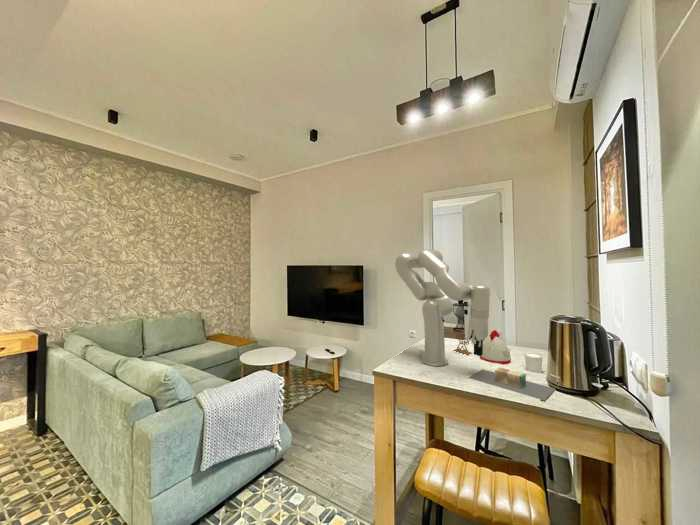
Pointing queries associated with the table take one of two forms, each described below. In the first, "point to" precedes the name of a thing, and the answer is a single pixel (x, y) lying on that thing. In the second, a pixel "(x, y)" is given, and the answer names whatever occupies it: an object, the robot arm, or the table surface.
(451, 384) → the table surface
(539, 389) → the mat
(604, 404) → the table surface
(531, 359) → the white round tub
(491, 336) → the white red winter hat
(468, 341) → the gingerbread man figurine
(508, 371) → the spice jar
